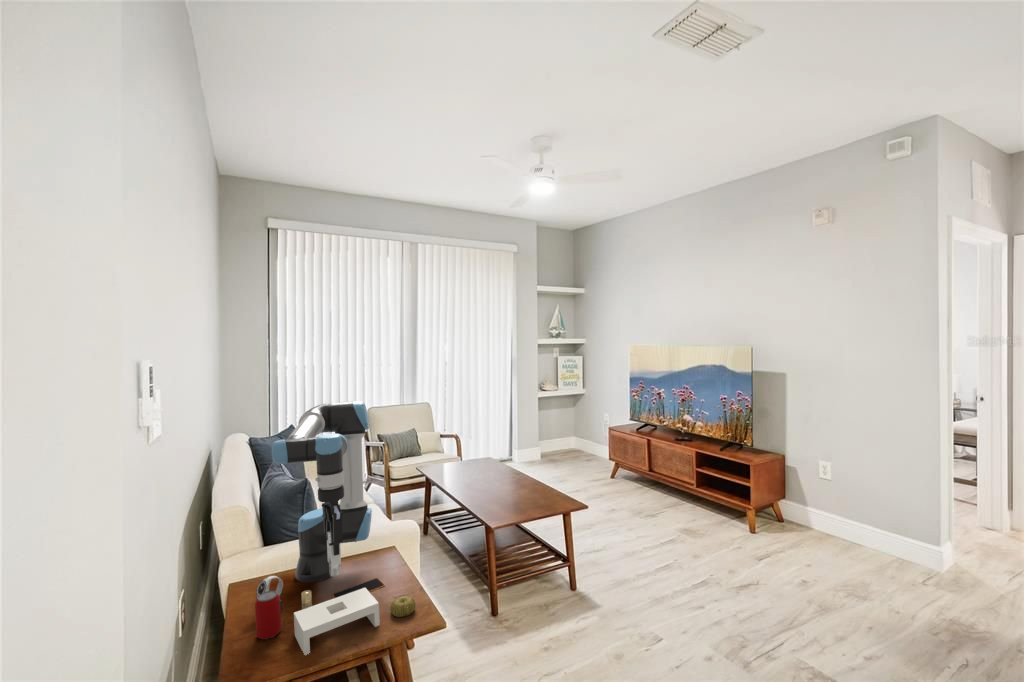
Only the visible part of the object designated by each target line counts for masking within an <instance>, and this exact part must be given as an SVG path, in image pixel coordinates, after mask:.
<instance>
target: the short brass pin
mask: <svg viewBox="0 0 1024 682" xmlns="http://www.w3.org/2000/svg"><path fill="white" fill-rule="evenodd" d="M300 594H301V610H303V609H306V608H308V607H311V606H313V598H312V596H313V595H312V590H310V589H307V590H306V589H305V590H304V591H302V592H301V593H300Z"/></svg>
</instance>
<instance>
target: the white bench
mask: <svg viewBox="0 0 1024 682" xmlns="http://www.w3.org/2000/svg"><path fill="white" fill-rule="evenodd" d="M379 605H380V604H379V602H378V600H377V599H376V598H375V597H374V595H372V593H371V592H369V591H368V590H367V589H366V588H362V589H359V590H357V591H354V592H351V593H348V594H345V595H342V596H340V597H337V598H334V597H333V598H332V599H328V600H325V601H323V602H320V603H318V604H314V605H312V606H311V607H308V608H306V609H303V610H302V609H301V610H298V611H295V612H293V624H294V625H293V626H294V627H293V628H294V630H293V631H294V637H295V639H296V641H297V643H298V645H299V647H300V650H301V651H303V652H302V653H304V654H303V655H305V656H307V654H308V655H310V654H311V646H310V645H311V644H310V643H311V642H310V638H313V637H315V636H318V635H320V634H323V633H326V632H328V631H331V630H334V629H336V628H338V627H341V626H343V625H346V624H349V623H352V622H354V621H356V620H359V619H362V618H365V617H366V618H367V619H368V620H369V621H370V623H371V624H372V626H373V627H374V628H377V627H379V626H380V624H381V622H380V606H379ZM309 653H310V654H309Z"/></svg>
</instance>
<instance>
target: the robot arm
mask: <svg viewBox="0 0 1024 682" xmlns="http://www.w3.org/2000/svg"><path fill="white" fill-rule="evenodd" d="M369 422H370V420H369V415H368V409H367V406H366V404H365V403H364V402H363V401H361V400H360V401H357V400H355V401H354V400H351V401H343V402H341V401H339V402H338V401H337V402H325V403H321V404H318V405H315V406H313V407H312V408H310V409H308V410H307V411H305V412H304V413H303V414H302V415H301V416H300V417H299V419H298V424H297V426H296V427H294V430H293V431H292V432H291V433H290V435H289V436H288V437H287V439H284V438H283V439H280V440H279V439H278V440H276V441H275V440H274V442H273V443H272V446H271V459H272V462H273V463H274V464H276V465H287V464H298V463H307V462H316V477H315V482H316V483H317V487H318V488H317V500H318V501H319V502H320V503H321V508H317V509H314V510H311V511H309V512H306V513H304V514H303V515H302V516H300V518H299V519H298V527H297V528H298V529H297V532H298V533H297V534H298V548H299V549H298V550H299V556H298V557H299V558H298V561H297V565H296V567H295V579H296V580H297V582H300V583H316V582H319V581H324V580H326V579H328V578H330V577H331V576H330V574H329V553H328V533H327V532H328V531H330V533H331V543H329V546H330V550H331V566H336V565H339V564H340V565H341V564H342V555H341V544H346V543H347V544H348V543H357V542H361V541H365V540H367V539H368V538H369V536H370V531H371V524H372V512H373V511H372V510H373V509H372V508H370V507H368V506H369V505H368V503H367V502H366V500H365V499H364V480H363V479H364V477H363V475H364V474H363V443H362V441H363V440H362V439H363V438H364V437H365V435H366V431H367V430H369V429H370V423H369ZM321 433H328V434H321ZM320 434H321V435H320ZM318 435H319V436H318ZM317 436H318V437H317ZM339 501H340V503H339Z"/></svg>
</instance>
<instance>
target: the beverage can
mask: <svg viewBox="0 0 1024 682" xmlns="http://www.w3.org/2000/svg"><path fill="white" fill-rule="evenodd" d="M280 600H281V598H280V596H279V595H278V594H277V592H276V590H269V591H267V592H264V593H262V594H260V595H259V596H258V597H257V598H256V601H255V603H254V609H255V610H254V611H255V626H256V627H255V628H256V632H255V633H256V637H257V638H258V639H261V640H269V638H270V639H272V638H274V637H276V636H277V635H278V634H279V633H280V632H281V630H282V615H281V612H282V611H280Z"/></svg>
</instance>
